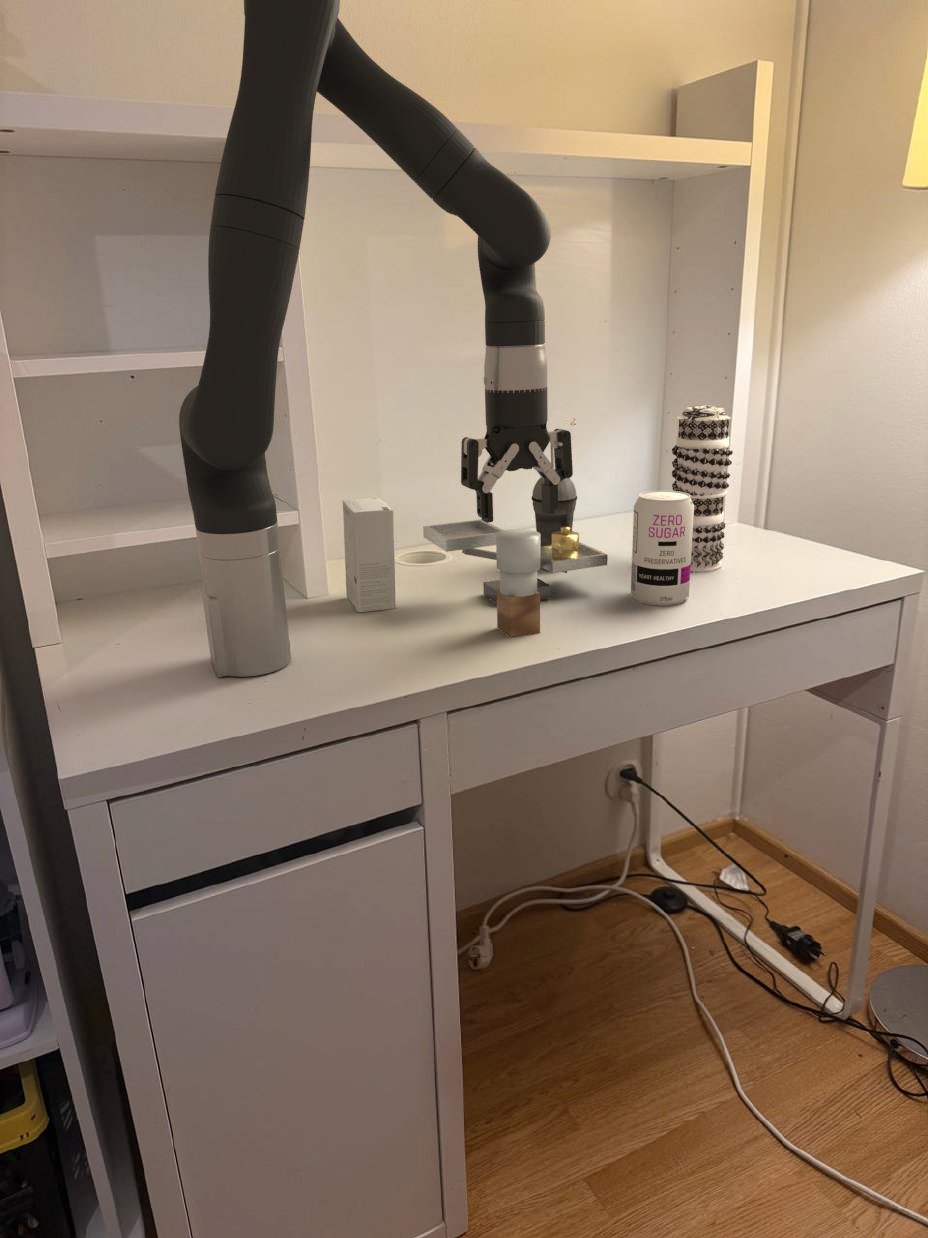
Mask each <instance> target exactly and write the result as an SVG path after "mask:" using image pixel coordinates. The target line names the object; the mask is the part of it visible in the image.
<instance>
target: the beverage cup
mask: <svg viewBox="0 0 928 1238" xmlns="http://www.w3.org/2000/svg"><path fill="white" fill-rule="evenodd" d="M549 444H550V463H551V464H552V467H553V469H554V470H555V459H554V447H552V446H551V443H550V442H549ZM542 483H544V480H543V479H542V477H541V476H540V478H539V479H538V480H537V481H536V483H535V485H534V486H533V489H532V495H531V498H530V499H531V501H532V507H533V512H534V519H535V528H536V530H535V531H537V532H539V533H540V546H544V545H551V544H552V533H554V532H557V531H561V527H563V526H568V527H570V531H573V524H574V513H575V511H576V505H577V500H578V496H577V489H576V486H575V484H574V482H573V480H572V479H571V478H565V479H564V480H562V481H560V482H559V484H558V506H557V509H555V512H554V514H550V515H548V514H545V513H543V512H542ZM539 570H541V571H543V572H548V573H550V572H549V571H547V570H546V569H542V568H540V569H539Z"/></svg>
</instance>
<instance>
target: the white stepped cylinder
mask: <svg viewBox="0 0 928 1238" xmlns="http://www.w3.org/2000/svg"><path fill="white" fill-rule="evenodd" d="M495 548H496V550H495V551H496V560H495V561H496V569H497V570H498V571H499V580H500V592H501V593H502V594H504V595H507V596H514V597H523V596H530V595H533V594H535V593H536V592H537V578H538V571H539V570H541V569H540V533H539V532H537V531H536V530H533V529H525V528H523V529H521V528H517V529H515V528H514V529H507V530H504V531H501V532H498V533H497V534H496V545H495Z"/></svg>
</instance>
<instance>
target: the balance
mask: <svg viewBox="0 0 928 1238" xmlns="http://www.w3.org/2000/svg"><path fill="white" fill-rule="evenodd" d="M422 527H423V528H422V529H423V538H424V539H426V540H427V541H429V542H431V543H432V544H434V545H435V546H437V547H438V548H440V549H442V550H443V551H445V552H453V551H461V554H464V555H465V556H466V555H467V556H471V557H477V558H482V559H488V560H494V561H497V560H496V552H495V551H490V550H485V549H479V548H483V547H485V548H486V547H491V546H496V534H497V533H498V532H501V531H505V530H503V529H502V528H499V527H497V526H495V524H494V525H493V524H492V523H491V522H489V523H486V522H484V521H482V519H481V518H479V519H474V520H473V519H472V520H465V521H457V522H456V521H455V522H448V523H447V522H446V523H440V524H431V525H423V526H422ZM608 557H609V556H608V554H607V553H605V552H603V551H601V550H598V549H596V548H593V547H591V546H589V545H588V544H585V543H582V542H580V533H579V532H577V531H573V530H572V531H570V527H568V526H563V527H561V531H557V532H554V533H552V544H551V545H544V546H540V568H542V569H546V570H547V571H546V572H548V571H549V572H548V573H551V574H557V573H565V574H567V573H568V572H570V571H578V570H584V569H590V568H595V567H603V566H608V559H609V558H608ZM551 586H552V585H551V584H549V583H547V582H545V581H544V580H542V579H540V578H538V577H537V592H539V593H540V601H543V600H551V597H552V596H551V591H552V590H551ZM497 589H500V579H497V580H495V579H494V580H490V581H484V582H483V596H484V595H485V596H484V597H485V598H487V597H488V598H487V599H489V600H490V599H491V600H490V601H491V602H493V603H495V604H496V605H497Z"/></svg>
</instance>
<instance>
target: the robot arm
mask: <svg viewBox="0 0 928 1238" xmlns="http://www.w3.org/2000/svg"><path fill="white" fill-rule="evenodd" d="M340 3H341V0H243V14H244V31H243V33H244V34H243V47H242V48H243V49H242V61H241V62H242V63H241V71H240V80H239V87H238V92H237V96H236V101H235V106H234V108H233V112H232V116H231V119H230V124H229V128H228V131H227V134H226V140H225V144H224V148H223V152H222V156H221V161H220V165H219V172H218V177H217V180H216V181H217V182H216V186H215V191H214V199H213V205H212V214H211V219H210V220H211V221H210V226H209V227H210V229H209V237H208V253H207V254H208V255H207V256H208V257H207V265H208V266H207V271H208V272H207V274H208V275H207V277H208V280H207V281H208V294H209V295H208V298H209V299H208V301H209V327H208V328H209V331H208V338H207V345H206V351H205V355H204V359H203V363H202V369H201V372H200V373H201V374H200V377H199V380H198V384H197V385H196V386H195V387H194V388H193V389H192V390H190V391H189V392H188V394H187V395H186V396H185V397H184V399H183V402H182V403H181V406H180V409H179V415H178V427H179V435H180V444H181V452H182V457H183V458H182V459H183V464H184V471H185V472H184V473H185V477H186V484H187V491H188V497H189V502H190V505H191V509H192V515H193V520H194V527H195V534H196V542H197V549H198V557H199V566H200V573H201V579H202V587H201V595H202V602H203V611H204V617H205V625H206V626H205V627H206V632H207V633H206V634H207V639H208V640H207V641H208V648H209V656H210V661H211V665H212V667H213V670H214V672H215V675H216V676H217V678H222V677H243V678H244V677H255V676H256V677H257V676H261V675H263V676H264V675H266V674H270V673H273V672H276V671H279V670H281V669H282V668H284V667H286V666H287V665H288V664H289V663H291V659H292V656H291V655H292V654H291V641H290V635H289V624H288V615H287V614H288V613H287V605H286V603H287V602H286V595H285V585H284V584H285V583H284V575H283V574H284V573H283V563H282V557H281V556H282V555H281V545H280V536H279V525H278V513H277V504H276V500H275V497H274V494H273V491H272V488H271V484H270V478H269V475H268V469H267V461H266V452H267V450H268V449H269V447H270V443H271V441H272V439H273V436H274V435H273V434H274V428H275V427H274V425H275V422H274V421H275V405H276V404H275V403H276V389H277V388H276V386H277V374H278V373H277V370H278V360H279V359H278V357H279V350H280V349H279V348H280V342H281V337H282V333H283V330H284V325H285V321H286V317H287V312H288V308H289V303H290V300H291V299H290V298H291V294H292V290H293V284H294V279H295V275H296V274H295V273H296V269H297V263H298V260H299V256H300V255H299V253H300V249H301V242H302V236H303V229H304V225H305V223H304V221H305V217H306V211H307V210H306V209H307V198H308V189H309V180H310V168H311V167H310V166H311V154H312V153H311V152H312V134H313V133H312V131H313V120H314V119H313V117H314V110H315V102H316V99H317V97H316V96H317V93H318V94H319V95H321V97H323V98H324V99H326V101H328V102H329V103H330V104H332V105H333V107H335V108H336V109H338V110H339V111H340V112H341V113H342V114H343V115H344V116H346V117H347V118H348V119H349V120H350V121H351V122H353V124H355V125H356V126H357V127H358V128H359V129H360V130H361V131H363V132H364V133H365V134H366V135H367V136H368V137H369V138H370V139H371V140H372V142H374V143H375V144H376V145H377V146H378V147H380V149H381V150H382V151H383V152H385V154H386V155H387V156H388V157H389V158H390V159H391V160H392V161H393V162H394V163H395V164H396V165H398V167H400V169H401V170H402V171H403V172H404V173H405V174H406V175H407V176H408V177H409V178H410V179H411V180H412V181H413V182H414V183H415V184H416V185H417V186H418V187H419V188H420V189H421V190H422V191H423V192H424V193H425V194H426V195H427V196H428V197H429V198H430V200H432V202H434V203H435V204H436V205H437V206H438V207H440V209H442V210H443V211H444V212H446V213H447V214H450V215H453V216H456V217H458V218H459V219H460V220H461V221H462V222H464V223H465V224H466V226H468V227H469V228H470V229H471V230H472V231H473V232H474V233H475V234H476V235H477V258H478V259H477V260H478V267H479V274H480V275H479V276H480V280H481V286H482V287H481V288H482V292H483V296H484V298H483V299H484V307H485V308H484V309H485V310H484V331H485V332H484V337H485V338H484V339H485V340H484V341H485V355H484V363H483V364H484V365H483V366H484V367H483V370H484V371H483V372H484V375H483V385H484V406H485V407H484V408H485V414H484V415H485V427H486V432H485V436H484V438H471V437H468V436H465V437H463V438H462V439H461V452H460V454H461V456H460V457H461V461H460V462H461V465H460V484H461V486H463V487H465V488H468V489H470V490H473V491H475V493H476V514H477V515H478V517H479V518H480V519H481V520H482V521H484V522H486V523H493V522H494V496H493V495H494V493H493V492H491V491H492V490H493V487H494V486H495V485H496V483H497V481H498V480H499V479H501V477H503V476H504V473H505V471H508V472H515V471H518V470H520V469H522V470H533V469H534V470H535V471H536V473H537V474H538V475H539V476H540V478H541V477H542V479H543V480H544V483H542V512H543V513H545V514H548V515H550V514H554V512H555V509H557V506H558V484H559V482H560V481H562V480H564V479H565V478H570V479H571V478H572V477H573V474H574V472H573V469H574V468H573V453H572V452H573V451H572V449H573V448H572V434H571V432H570V431H569V430H566V429H562V428H555V429H554V430H553V431H548V427H547V423H548V415H549V414H548V406H549V405H548V360H547V352H546V345H545V344H546V329H545V328H546V319H545V318H546V317H545V315H546V314H545V306H544V304H545V303H544V300H543V298H542V296H541V295H540V294H539V293H538V290H537V279H536V277H537V276H536V263H537V262H538V261H540V260H541V258H543V256H544V255H545V254H546V252H547V251H548V248H549V246H550V242H551V236H552V235H551V234H552V232H551V231H552V229H551V225H550V222H549V219H548V216H547V215H546V213H545V211H544V210H543V208H542V207H541V206H540V204H539V203H538V202H537V201H536V200H535V199H534V198H533V197H532V195H530V194H529V193H528V192H527V191H526V190H525V189H524V188H522V187H521V186H520V185H519V184H517V183H516V182H515V181H513V180H512V179H511V178H510V177H509V176H507V175H506V174H504V172H502V171H501V170H499V169H498V168H497V167H495V166H494V165H492V164H491V163H490V162H489V161H487V159H486V158H485V157H484V155H482V153H481V152H480V151H479V150H478V149H477V148H476V147H475V145H474V144H473V143H472V142H471V141H470V140H469V139H468V138H467V136H465V135H464V134H463V133H462V132H461V131H460V129H459V128H458V127H457V125H455V124H454V123H453V122H452V121H451V120H450V119H449V118H448V117H447V116H445V114H443V113H442V112H441V111H440V110H439V109H438V108H437V107H435V105H433V104H432V103H431V102H429V100H426V99H425V98H423V97H422V96H421V95H420V94H418V93H417V92H415V91H413V90H412V89H411V88H410V87H408V86H406V85H405V84H403V83H402V82H401V81H399V80H398V79H396V78H395V77H394V76H392V75H390V73H388V72H386V70H385V69H383V68H382V67H381V66H380V65H379V64H378V63H377V62H376V61H375V60H374V59H372V58H371V56H369V55H368V54H367V53H366V52H365V50H364V49H363V48H362V47H361V46H360V45H359V44H358V43H357V41H356V40H355V39H354V37H353V36H352V35H351V34H350V33H349V31H348V29H347V28H346V27H345V26H344V24H343V22H342V21H341V20H340V19H339V12H340V5H341V4H340ZM550 443H551V446H552V447H554V469H553V467H552V464H551V460H549V458H547V456H546V455H545V453H544V452H545V451H546V449H547V448H548V445H549V444H550ZM484 449H485V451H486V452H487V453H488V455H489V456H488V458H487V460H486V461H485V463H484V464H483V466H482V467H481V468H482V470H481V473H480V474H479V457H481V456H482V454H483V451H484Z"/></svg>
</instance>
